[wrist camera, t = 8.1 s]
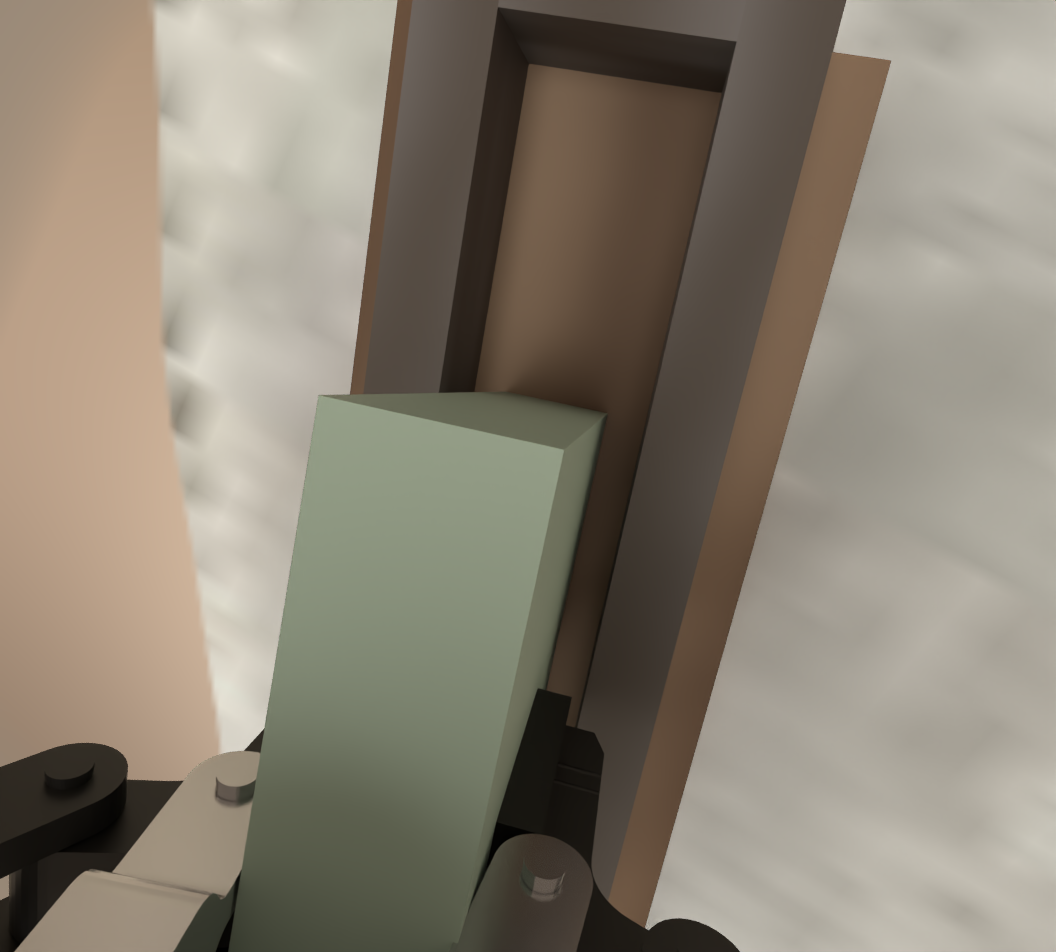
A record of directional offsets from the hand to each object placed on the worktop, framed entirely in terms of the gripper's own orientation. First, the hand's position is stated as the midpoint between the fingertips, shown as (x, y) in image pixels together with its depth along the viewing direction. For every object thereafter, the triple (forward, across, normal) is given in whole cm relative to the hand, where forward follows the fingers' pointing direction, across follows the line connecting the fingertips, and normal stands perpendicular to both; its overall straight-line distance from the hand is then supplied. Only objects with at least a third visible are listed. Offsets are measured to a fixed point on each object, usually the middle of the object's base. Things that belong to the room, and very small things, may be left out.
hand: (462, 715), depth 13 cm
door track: (+6, 0, 0) cm, 6 cm away
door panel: (+4, 0, +1) cm, 4 cm away
